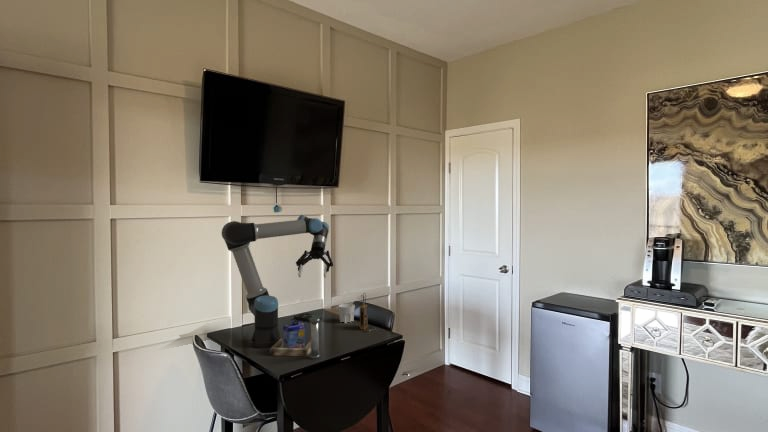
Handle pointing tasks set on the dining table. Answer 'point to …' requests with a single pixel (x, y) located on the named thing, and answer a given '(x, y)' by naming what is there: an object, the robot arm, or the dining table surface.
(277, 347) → the notched board
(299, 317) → the disk drive
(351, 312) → the cup
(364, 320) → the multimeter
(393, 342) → the dining table surface
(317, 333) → the bobbin post
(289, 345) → the ink cartridge box
